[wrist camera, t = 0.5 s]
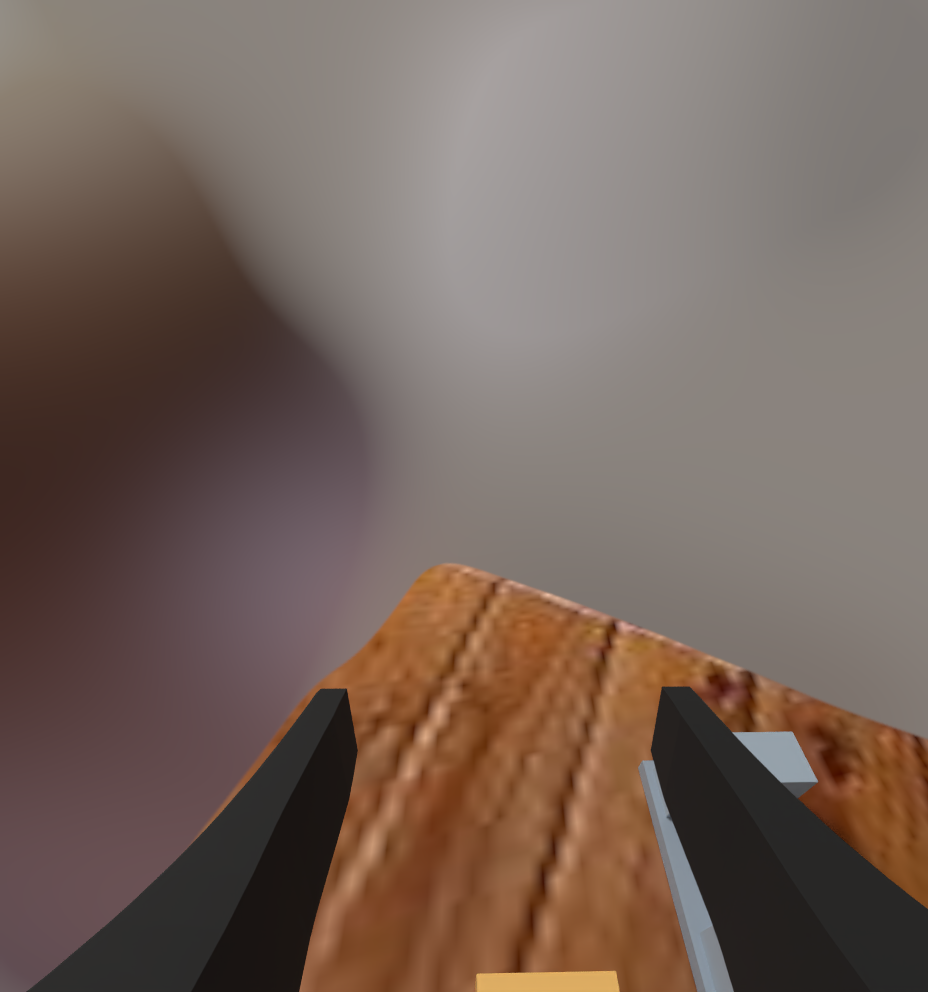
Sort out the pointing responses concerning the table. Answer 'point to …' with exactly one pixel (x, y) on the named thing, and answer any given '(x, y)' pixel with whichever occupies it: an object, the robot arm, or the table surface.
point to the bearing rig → (694, 920)
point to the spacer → (548, 982)
